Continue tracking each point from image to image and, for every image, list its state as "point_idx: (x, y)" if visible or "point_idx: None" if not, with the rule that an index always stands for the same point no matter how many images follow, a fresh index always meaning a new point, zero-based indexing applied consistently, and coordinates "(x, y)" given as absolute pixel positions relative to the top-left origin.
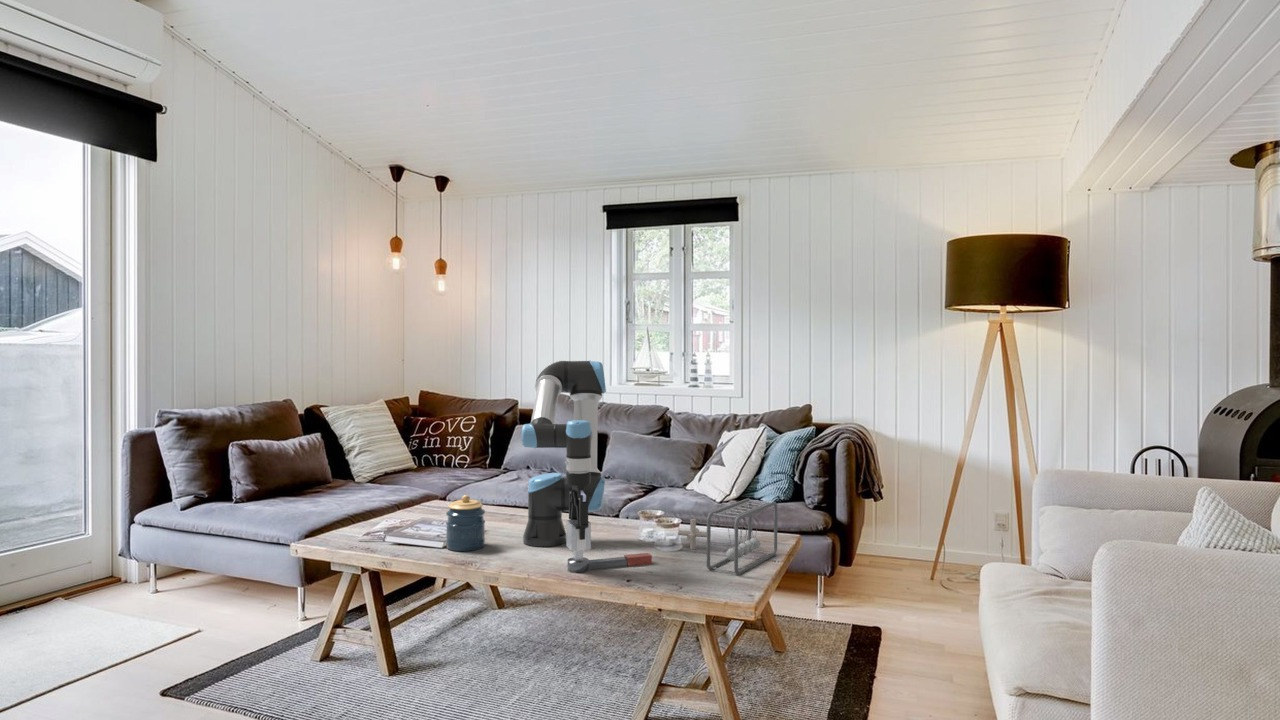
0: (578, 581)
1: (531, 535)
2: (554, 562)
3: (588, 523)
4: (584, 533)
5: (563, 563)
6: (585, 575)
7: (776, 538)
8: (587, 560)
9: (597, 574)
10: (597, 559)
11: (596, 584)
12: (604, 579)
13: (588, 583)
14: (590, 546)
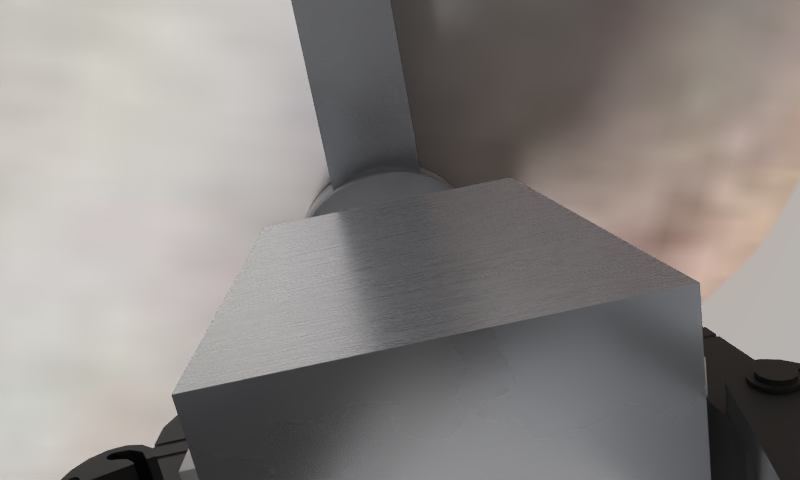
0: (687, 264)
1: None
2: (153, 428)
3: (694, 336)
4: (729, 352)
5: (188, 359)
6: (554, 201)
7: None
8: (433, 187)
9: (549, 97)
10: (318, 69)
11: (795, 134)
12: (694, 53)
13: (754, 194)
14: (519, 186)
